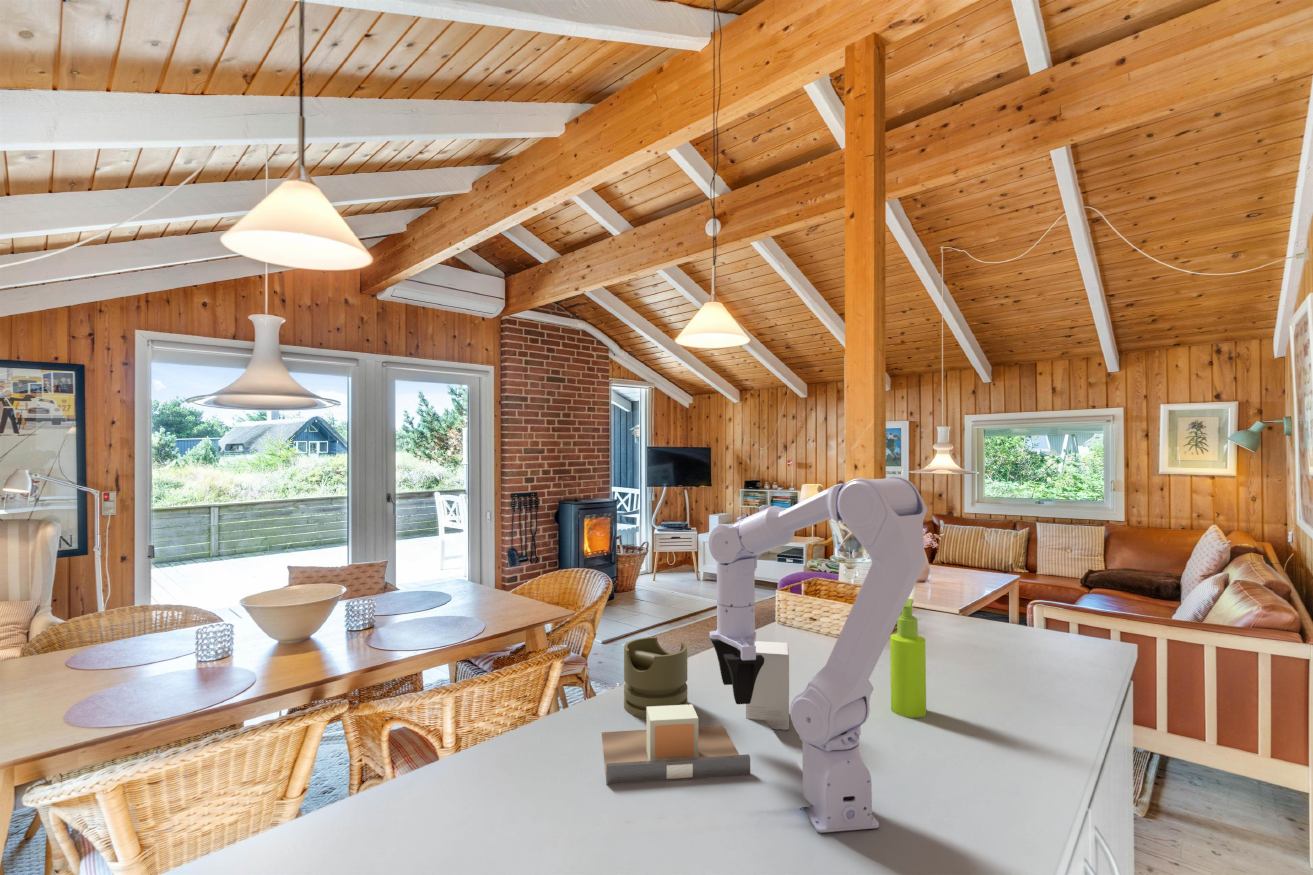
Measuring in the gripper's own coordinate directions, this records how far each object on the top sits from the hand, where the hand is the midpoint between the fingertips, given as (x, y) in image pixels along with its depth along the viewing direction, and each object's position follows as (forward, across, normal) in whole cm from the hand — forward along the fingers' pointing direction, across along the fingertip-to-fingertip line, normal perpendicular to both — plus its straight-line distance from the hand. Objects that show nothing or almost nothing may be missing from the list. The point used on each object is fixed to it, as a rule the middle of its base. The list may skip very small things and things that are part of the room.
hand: (736, 693), depth 94 cm
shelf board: (+10, 0, -10) cm, 14 cm away
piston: (+10, -18, -10) cm, 23 cm away
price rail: (+8, +7, -10) cm, 15 cm away
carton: (+8, +1, -10) cm, 13 cm away
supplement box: (+10, -13, +9) cm, 19 cm away
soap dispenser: (+10, -13, +35) cm, 39 cm away
